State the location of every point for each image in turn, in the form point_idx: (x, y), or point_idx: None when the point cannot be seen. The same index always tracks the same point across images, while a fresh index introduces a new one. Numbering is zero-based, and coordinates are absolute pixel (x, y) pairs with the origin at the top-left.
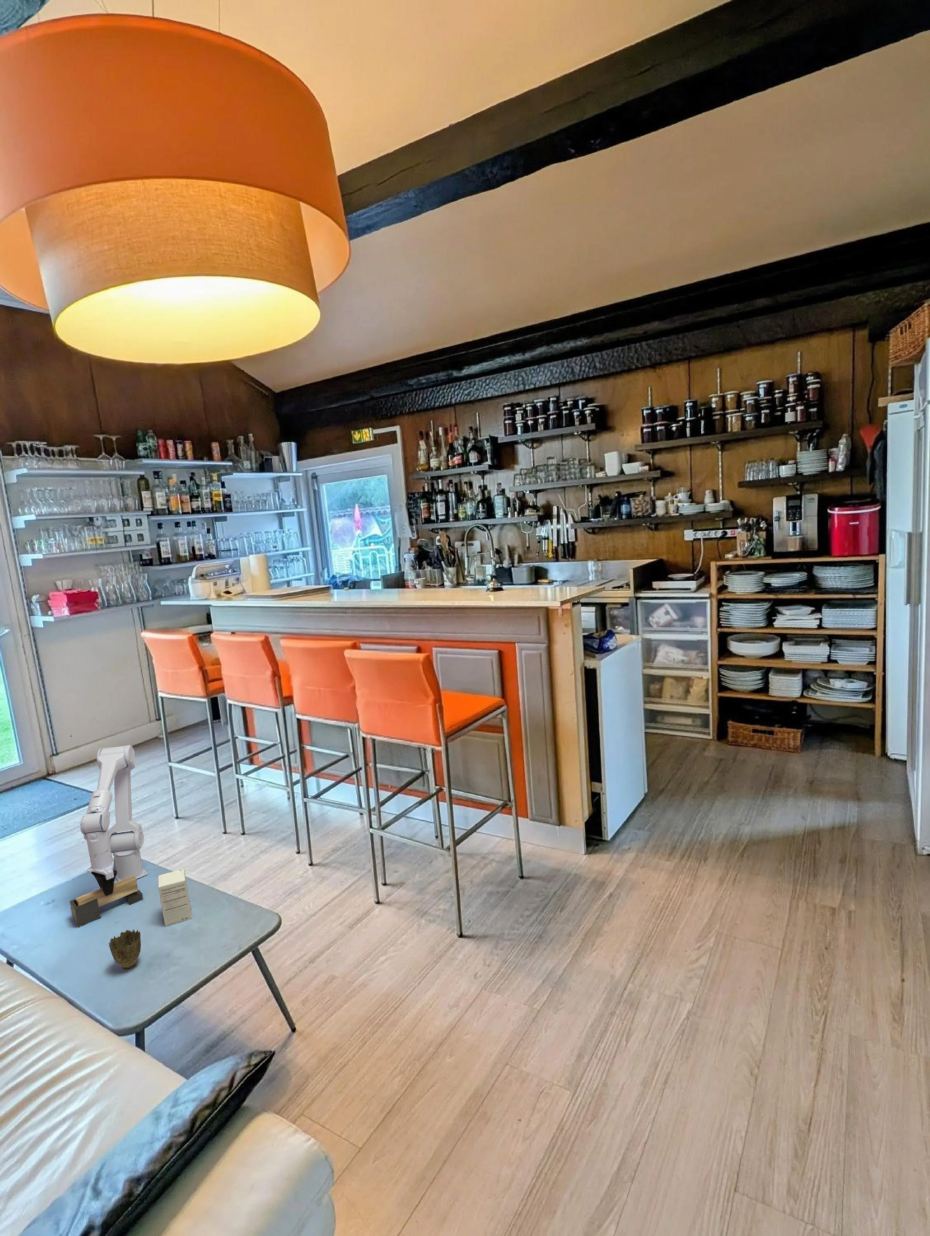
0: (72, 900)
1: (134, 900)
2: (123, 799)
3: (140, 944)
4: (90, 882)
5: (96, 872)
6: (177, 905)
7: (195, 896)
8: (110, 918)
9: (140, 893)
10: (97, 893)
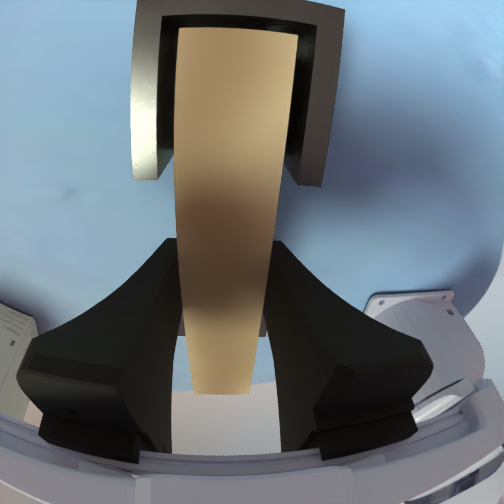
0: (331, 25)
1: None
2: None
3: None
4: (491, 226)
5: (67, 474)
6: None
7: None
8: (122, 176)
9: (181, 332)
10: (192, 210)
